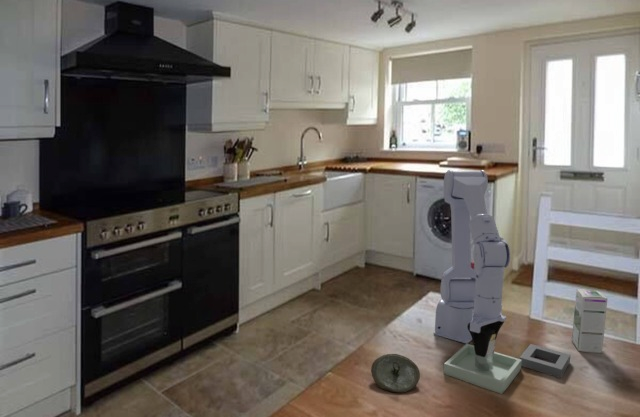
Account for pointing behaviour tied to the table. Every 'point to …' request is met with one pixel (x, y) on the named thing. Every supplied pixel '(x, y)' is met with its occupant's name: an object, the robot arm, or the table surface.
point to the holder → (543, 366)
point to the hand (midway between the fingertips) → (484, 351)
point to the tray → (491, 379)
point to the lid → (395, 373)
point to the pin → (486, 357)
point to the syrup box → (589, 320)
